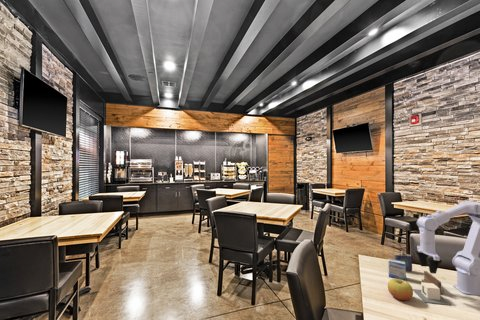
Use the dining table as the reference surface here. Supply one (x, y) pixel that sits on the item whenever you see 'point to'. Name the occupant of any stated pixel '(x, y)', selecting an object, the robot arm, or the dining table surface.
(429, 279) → the walnut screen
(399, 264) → the medicine box
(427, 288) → the letter cube
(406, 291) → the apple
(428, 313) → the dining table surface
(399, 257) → the flask
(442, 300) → the slate pad
